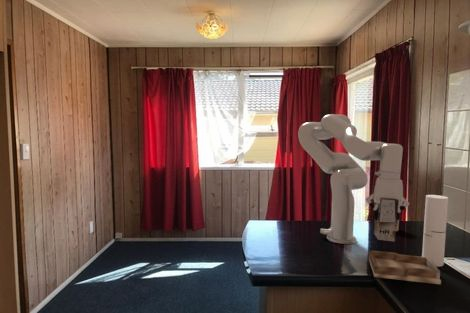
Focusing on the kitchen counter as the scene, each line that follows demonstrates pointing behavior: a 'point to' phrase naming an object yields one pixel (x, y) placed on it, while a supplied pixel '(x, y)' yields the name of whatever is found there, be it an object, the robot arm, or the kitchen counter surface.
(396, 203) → the coffee box
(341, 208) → the robot arm
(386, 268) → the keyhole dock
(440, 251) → the cylindrical container
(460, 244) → the kitchen counter surface
